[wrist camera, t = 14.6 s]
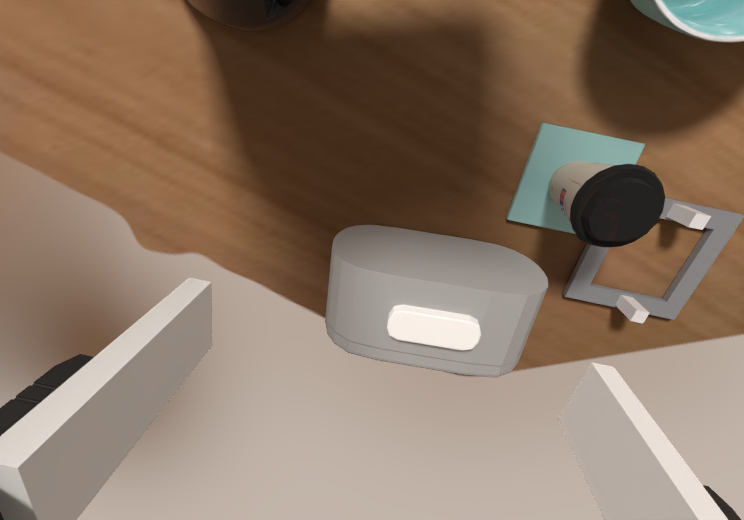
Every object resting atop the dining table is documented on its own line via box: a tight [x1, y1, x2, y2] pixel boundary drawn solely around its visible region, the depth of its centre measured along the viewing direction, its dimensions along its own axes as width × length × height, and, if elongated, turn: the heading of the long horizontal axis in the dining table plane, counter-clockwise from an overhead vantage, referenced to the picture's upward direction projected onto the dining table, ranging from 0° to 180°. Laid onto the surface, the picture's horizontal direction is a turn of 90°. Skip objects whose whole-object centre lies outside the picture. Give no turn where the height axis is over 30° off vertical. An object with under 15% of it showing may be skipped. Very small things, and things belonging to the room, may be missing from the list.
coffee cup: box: [548, 161, 665, 247], centre depth 32 cm, size 7×7×10 cm
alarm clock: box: [325, 225, 548, 377], centre depth 37 cm, size 21×10×13 cm, turn 82°
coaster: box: [506, 122, 645, 234], centre depth 37 cm, size 10×10×1 cm
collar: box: [563, 198, 744, 323], centre depth 38 cm, size 13×13×4 cm
